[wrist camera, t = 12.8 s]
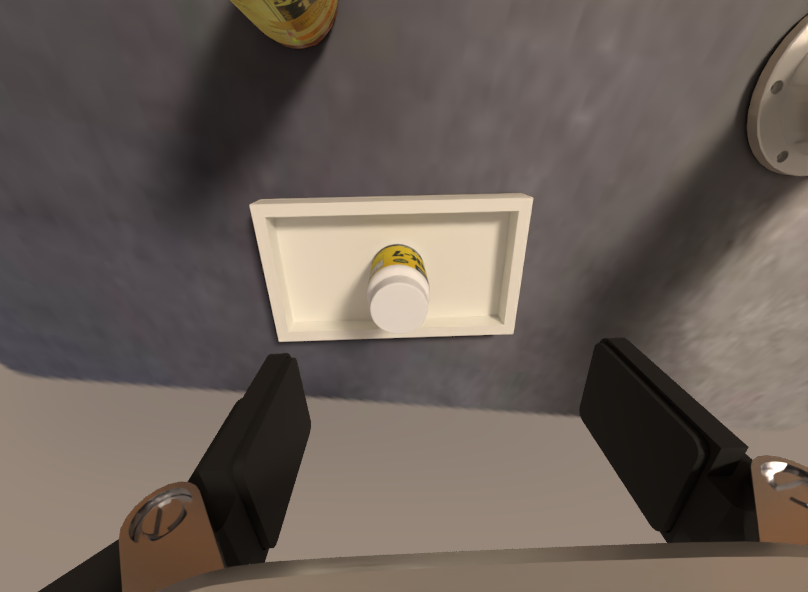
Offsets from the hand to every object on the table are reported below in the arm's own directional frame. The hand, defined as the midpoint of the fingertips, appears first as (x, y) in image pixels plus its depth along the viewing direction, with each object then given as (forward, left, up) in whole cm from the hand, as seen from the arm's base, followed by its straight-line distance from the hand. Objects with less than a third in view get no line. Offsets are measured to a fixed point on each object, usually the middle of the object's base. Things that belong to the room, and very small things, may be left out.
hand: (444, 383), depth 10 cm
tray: (+2, +4, -21) cm, 21 cm away
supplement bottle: (+1, +4, -20) cm, 20 cm away
